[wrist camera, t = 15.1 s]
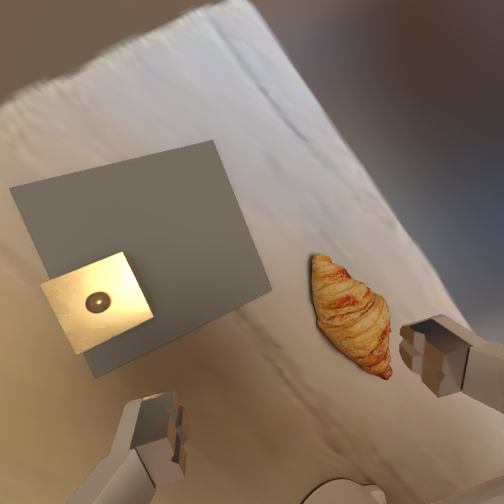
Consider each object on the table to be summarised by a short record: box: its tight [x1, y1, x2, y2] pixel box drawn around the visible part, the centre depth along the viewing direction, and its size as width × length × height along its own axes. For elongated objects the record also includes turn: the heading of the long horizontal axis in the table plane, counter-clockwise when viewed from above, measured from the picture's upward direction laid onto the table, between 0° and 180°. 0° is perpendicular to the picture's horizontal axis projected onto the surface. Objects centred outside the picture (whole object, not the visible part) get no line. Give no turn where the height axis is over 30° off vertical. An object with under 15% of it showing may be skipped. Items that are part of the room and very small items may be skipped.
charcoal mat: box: [9, 140, 272, 379], centre depth 30 cm, size 21×22×1 cm
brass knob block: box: [40, 252, 155, 355], centre depth 24 cm, size 6×6×9 cm
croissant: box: [311, 253, 392, 380], centre depth 36 cm, size 21×10×8 cm, turn 34°
